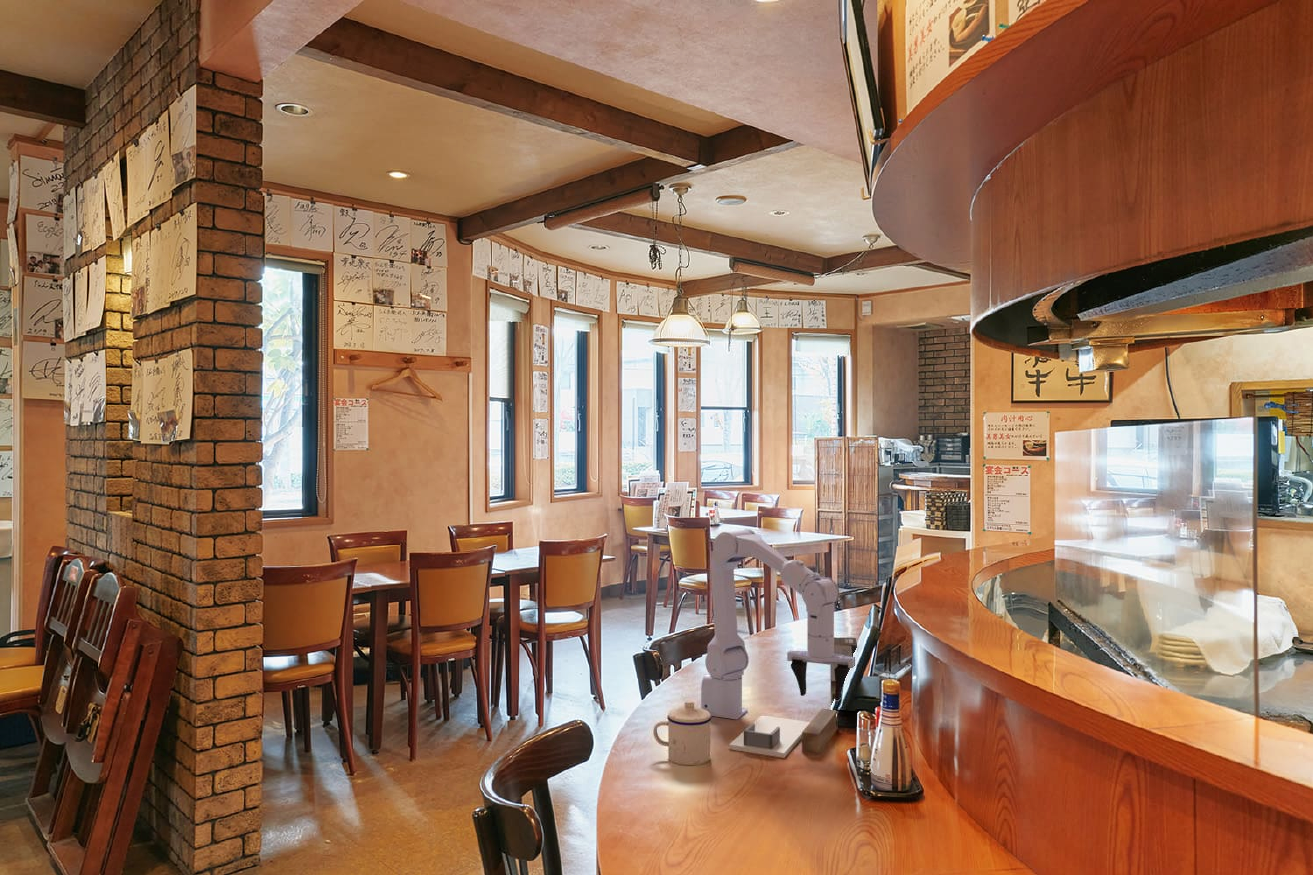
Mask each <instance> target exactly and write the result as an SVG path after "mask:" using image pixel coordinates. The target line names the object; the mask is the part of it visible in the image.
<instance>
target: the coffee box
mask: <svg viewBox="0 0 1313 875" xmlns="http://www.w3.org/2000/svg"><path fill="white" fill-rule="evenodd" d="M856 648H857V649H858V642H857V637H834V654H839V655H844V656H849V657H853V653H854V652H855V650H856ZM829 667H830V670H829V671H830V680H829V681H830V682H829V683H830V706H831V705H832V703H833V701H834V699H835V688H836V683H835V672H834V669H835V668H836V667H837V665H830V666H829Z"/></svg>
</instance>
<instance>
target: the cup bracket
mask: <svg viewBox="0 0 1313 875" xmlns="http://www.w3.org/2000/svg"><path fill="white" fill-rule="evenodd" d="M810 722H811V721H804V720H798V719H792V718H791V719H790V718H785V717H784V718H782V717H776V716H769V715H760V716H758V718H756V720H755V721H754V722H752V723H751V724H750V725H748V727H746V728H745V729H744V730H743V731H742V733H740V734H739V735H738V736H737V737H736V738H735V739H734V740H732V741H731V742H730V743H729V744H728V745H729V747H728V749H729V750H733V751H739V752H745V753H750V754H751V753H752V754H757V755H763V756H771V757H776V758H781V759H783V758H784V759H785V758H786V756H787V755H788V754H789V753H790V752H791V751H792V750H793V749H794V748H795V746H797V744H798V743H799V742H800V741H802V731H803V730H804V729H805V728H806V727H807V726H808V724H809V723H810Z"/></svg>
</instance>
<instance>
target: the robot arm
mask: <svg viewBox="0 0 1313 875" xmlns="http://www.w3.org/2000/svg"><path fill="white" fill-rule="evenodd" d="M751 557H752V558H755V559H757V560H758V561H760V562H761V563H763V564H765V565H767V566H768V567H769V568H771V569H773V570H774V571H776V572H777V573H779V577H780V580H781V581H782V583H784V584H786V585H787V586H788V587H790V588H791V589H792V590H794V591H795V592H796V593H798V594H799V595H801V598H802V601H803V602H804V604H805V608H806V609H805V610H806V613H807V634H806V635H807V637H806V638H807V639H806V640H807V644H806V646H807V647H806V648H807V650H788V651H787V652H786V654H787V656H786V661H787V662H791V664H790V668H791V670H792V672H793V674H794V677H795V679H796V681H797V685H798V689H799V694H800V696H802V697H803V696H804V697H805V695H806V694H807V667H808V663H811V664H821V665H837V667H836V668H835V669H834V672H835V683H836V688H835V700H839V699H840V698H841V692H842V687H843V684H844V681H845V678H846V676H847V674H848V672H849V670H850V668H853V667H854V666H855V657H849V656H844V655H839V654H834V638H835V603H836V602H837V601H838V599H839V597H840V589H839V585H838V584H837V583H836V581H835V580H833V578H831V577H828V576H827V577H821V574H820V573H818V572H814V570H811V569H810V568H809V567H807V566H806V565H805V562H804V561H802V559H800V560H796V559H792V560H788V559H787V558H786V557H784V556H783V555H782V554H781V553H780V552H778V551H777V550H776V549H775V548H773V547H772V546H770V544H768V543H767V542H766V541H765V540H763V538H762V536H761V535H760V534H758V533H755V531H753V530H752V529H749V528H747V529H743V530H737V531H736V530H734V531H722V532H720V533H718V535H717V536H716V537H715V538H714V539H713V540H712V554H711V559H710V576H711V595H712V610H713V611H712V612H713V626H714V628H713V629H714V636H713V637H712V639H711V640H710V641H709V643H708V644H707V653H706V657H705V661H704V663H705V668H706V670H707V672H708V673H706V674H704V676H703V678H702V681H701V686H700V692H701V693H700V708H701V709H704V710H706V711H708V712H709V713H710V714H711V717H718V718H723V719H724V718H726V719H733V720H738V719H739V718H741V717H742V716H743V715H744V714H745V713H746V712H748V708H747V707H743V675H745V674H744V673H745V670H746V669H747V667H748V666H749V662H750V661H749V658H750V657H749V654H748V652H747V649H746V646H745V645H746V643H745V640H744V639H743V638H742V637H740V635H739V634H738V632H739V631H738V620H737V619H738V618H737V616H738V615H737V602H736V588H735V587H736V586H735V568H736V567H738V565H739V564H740V563H741V562H742V561H744V560H745V559H748V558H751Z"/></svg>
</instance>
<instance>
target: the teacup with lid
mask: <svg viewBox="0 0 1313 875" xmlns="http://www.w3.org/2000/svg"><path fill="white" fill-rule="evenodd" d="M712 717H713V716H711V714H710V713H709V712H708V711H706V710H704V709H701V707H699V706H697V705H695V702H694V701H693V700H685V702H684V705H681V706H679V707H677V708H674V709H671V710H670V711H669V712H668V714H667V717H666V718H667V720H668V721H667V720H662V721H658V722H657V723H656V724H655V725H654V727H653V732H652V734H653V737H654V739H655V741H656V743H658V744H659V745H660V746H662V747H667V748H668V749H667V752H668V753H667V754H668V757H667V758H668V759H669V760H670V761H671V762H672V763H674V764H677V765H683V766H698V765H702V764H706V763H707V762H708V761H710V758H711V721H712V719H713V718H712ZM661 726H665V727H666V726H667V728H668V729H667V731H668V735H667V736H668V740H667V741H664V740H662V739H661V738H660V736H659V734H658V728H659V727H661Z"/></svg>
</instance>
